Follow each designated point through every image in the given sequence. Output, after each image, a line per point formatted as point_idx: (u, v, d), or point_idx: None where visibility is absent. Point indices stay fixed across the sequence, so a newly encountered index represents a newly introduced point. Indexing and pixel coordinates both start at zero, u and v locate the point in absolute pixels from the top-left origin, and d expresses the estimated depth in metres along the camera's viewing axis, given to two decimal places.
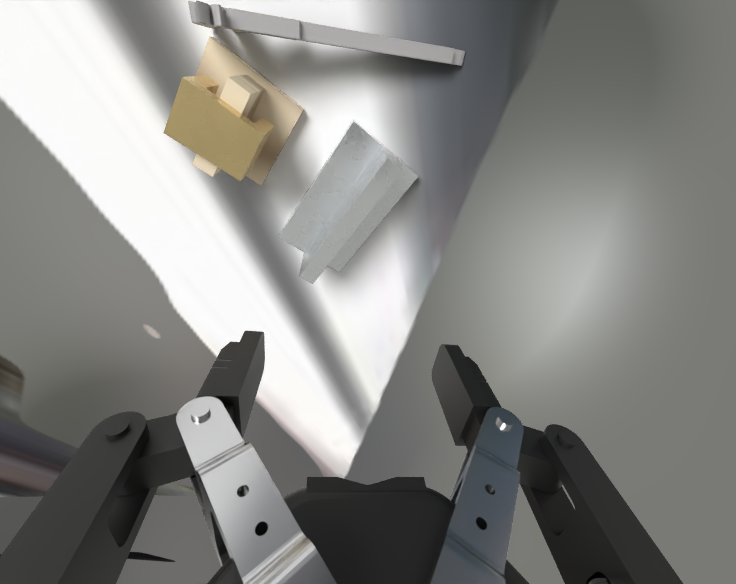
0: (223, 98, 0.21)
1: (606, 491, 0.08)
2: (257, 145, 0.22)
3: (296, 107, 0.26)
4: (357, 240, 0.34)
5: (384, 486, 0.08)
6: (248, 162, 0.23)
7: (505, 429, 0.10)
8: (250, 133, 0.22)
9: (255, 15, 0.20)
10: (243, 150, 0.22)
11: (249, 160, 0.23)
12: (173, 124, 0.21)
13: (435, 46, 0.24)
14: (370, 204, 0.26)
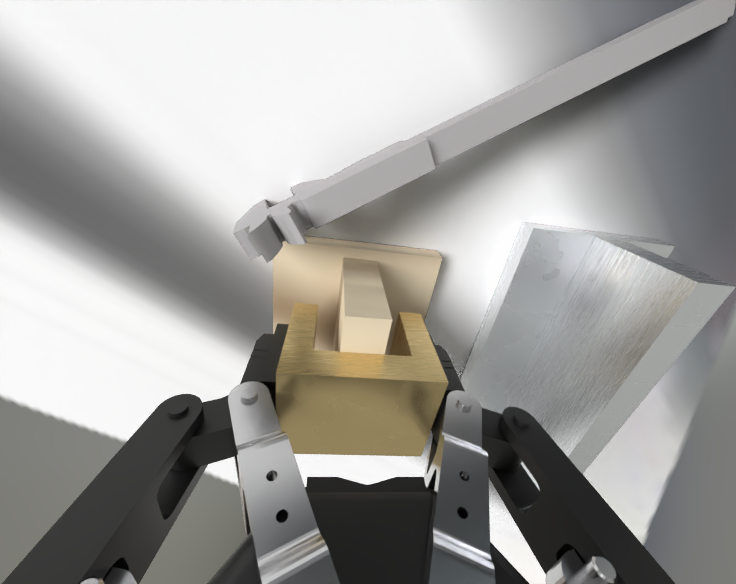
0: (346, 349, 0.11)
1: (562, 464, 0.09)
2: (439, 400, 0.10)
3: (431, 259, 0.15)
4: None
5: (384, 486, 0.08)
6: (428, 429, 0.11)
7: (463, 410, 0.10)
8: (422, 391, 0.10)
9: (349, 181, 0.10)
10: (415, 418, 0.11)
11: (429, 425, 0.11)
12: None
13: (690, 10, 0.10)
14: (661, 367, 0.12)
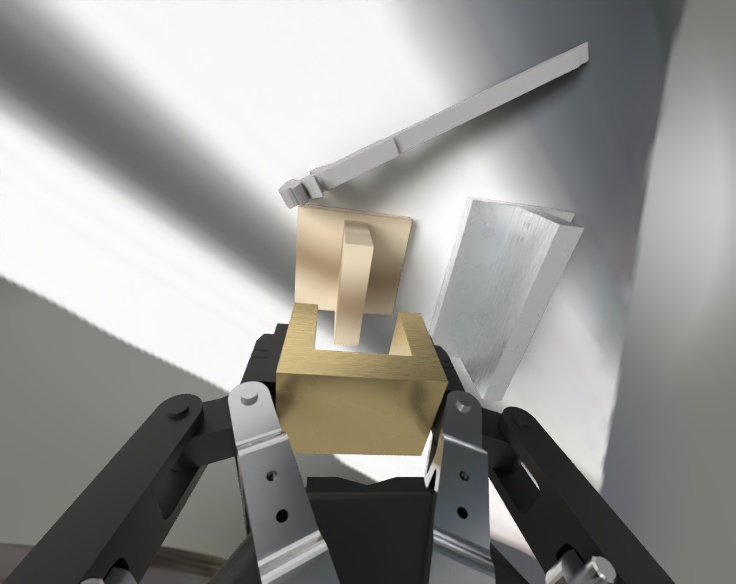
0: (346, 266, 0.17)
1: (562, 464, 0.09)
2: (439, 400, 0.11)
3: (404, 221, 0.22)
4: None
5: (384, 485, 0.08)
6: (428, 428, 0.11)
7: (463, 410, 0.10)
8: (422, 391, 0.10)
9: (348, 162, 0.16)
10: (415, 417, 0.11)
11: (429, 425, 0.11)
12: None
13: (553, 61, 0.17)
14: (550, 285, 0.19)
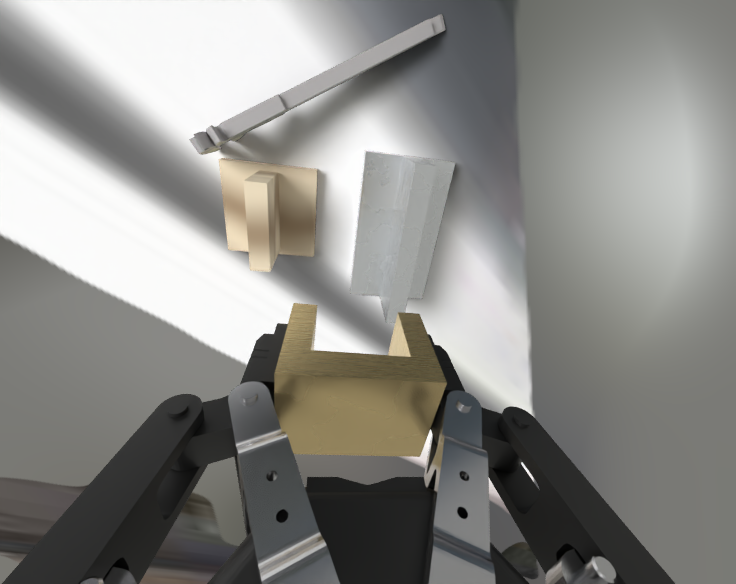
0: (248, 200, 0.22)
1: (562, 464, 0.09)
2: (437, 400, 0.11)
3: (310, 171, 0.26)
4: (425, 259, 0.31)
5: (384, 485, 0.08)
6: (427, 429, 0.11)
7: (463, 410, 0.10)
8: (420, 391, 0.10)
9: (242, 115, 0.21)
10: (414, 418, 0.11)
11: (428, 426, 0.11)
12: None
13: (409, 30, 0.22)
14: (421, 217, 0.24)
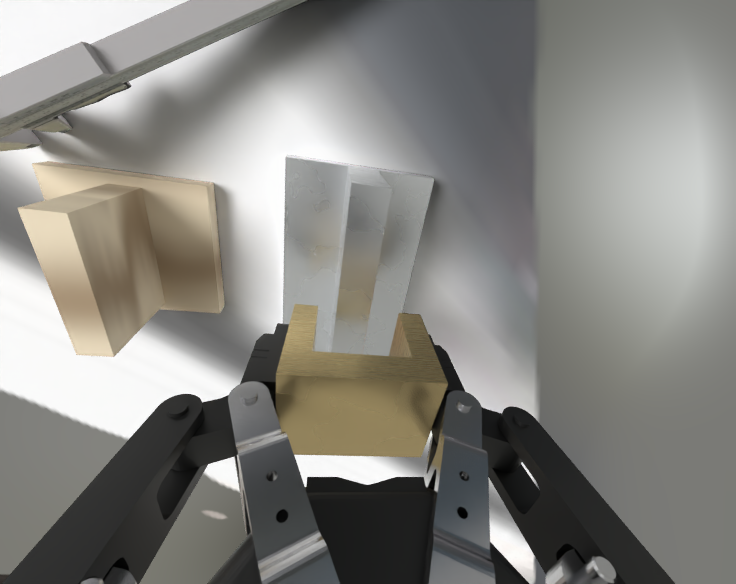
0: (38, 244, 0.12)
1: (562, 464, 0.09)
2: (438, 401, 0.11)
3: (196, 187, 0.16)
4: (390, 317, 0.21)
5: (384, 485, 0.08)
6: (428, 430, 0.11)
7: (463, 410, 0.10)
8: (421, 392, 0.10)
9: (8, 79, 0.11)
10: (415, 419, 0.11)
11: (429, 426, 0.11)
12: None
13: None
14: (368, 274, 0.14)
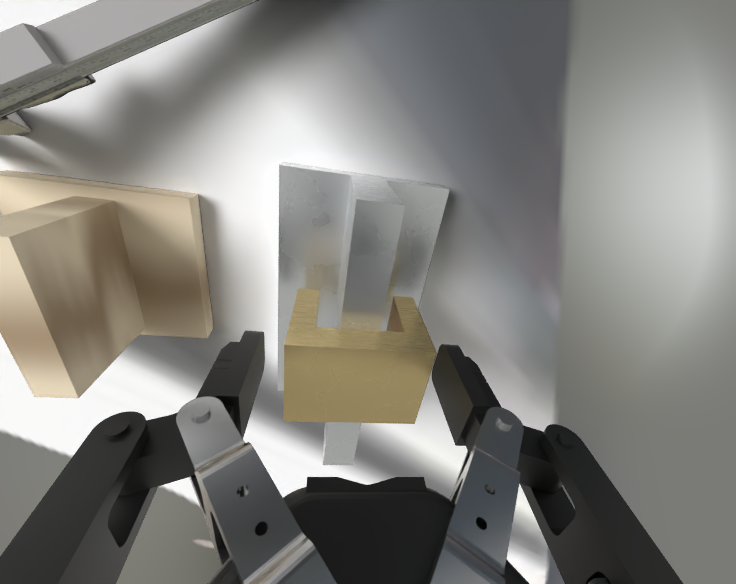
0: None
1: (606, 491, 0.08)
2: (429, 370, 0.12)
3: (177, 199, 0.14)
4: None
5: (384, 485, 0.08)
6: (420, 397, 0.12)
7: (505, 429, 0.10)
8: (413, 361, 0.11)
9: None
10: (408, 386, 0.12)
11: (421, 394, 0.12)
12: (292, 406, 0.12)
13: None
14: (375, 304, 0.12)
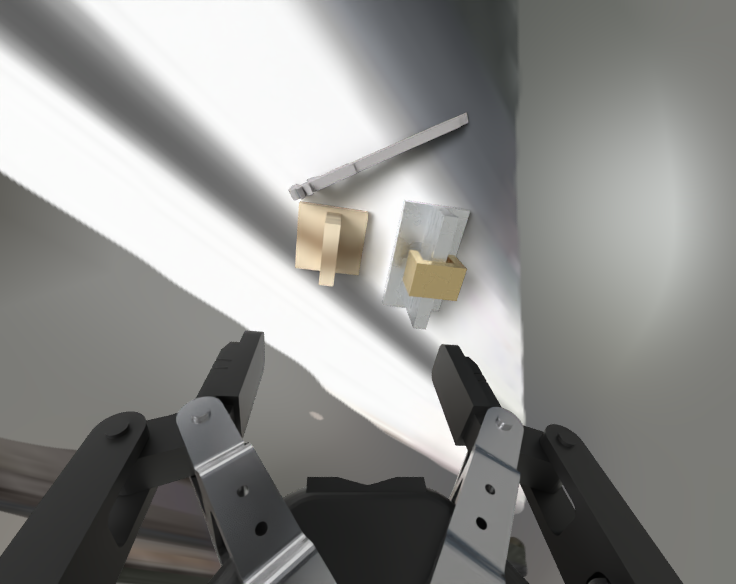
0: (325, 236, 0.31)
1: (605, 491, 0.08)
2: (463, 276, 0.33)
3: (364, 213, 0.35)
4: None
5: (384, 486, 0.08)
6: (459, 288, 0.34)
7: (505, 429, 0.10)
8: (458, 271, 0.33)
9: (327, 176, 0.30)
10: (455, 283, 0.33)
11: (460, 286, 0.34)
12: (414, 289, 0.33)
13: (444, 123, 0.31)
14: (445, 252, 0.33)
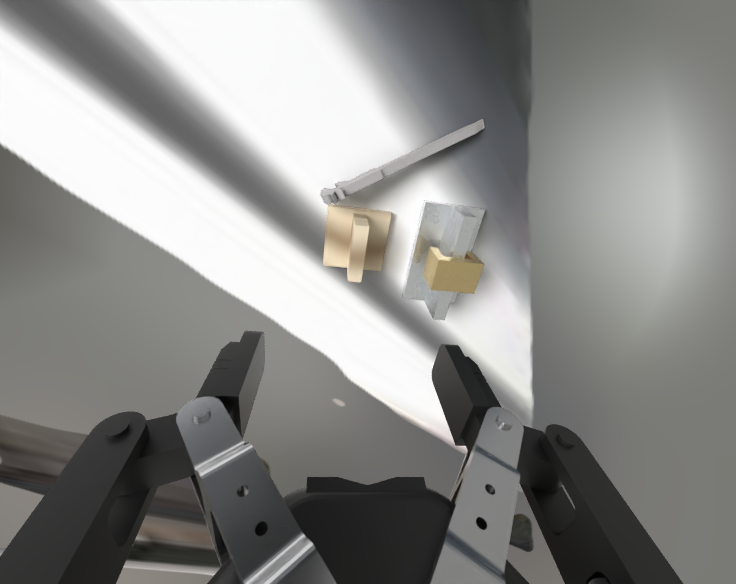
0: (355, 237, 0.34)
1: (606, 491, 0.08)
2: (481, 270, 0.36)
3: (387, 214, 0.38)
4: None
5: (384, 485, 0.08)
6: (477, 281, 0.37)
7: (505, 429, 0.10)
8: (476, 267, 0.36)
9: (357, 181, 0.33)
10: (473, 277, 0.37)
11: (477, 280, 0.37)
12: (435, 283, 0.37)
13: (463, 130, 0.34)
14: (464, 248, 0.36)
